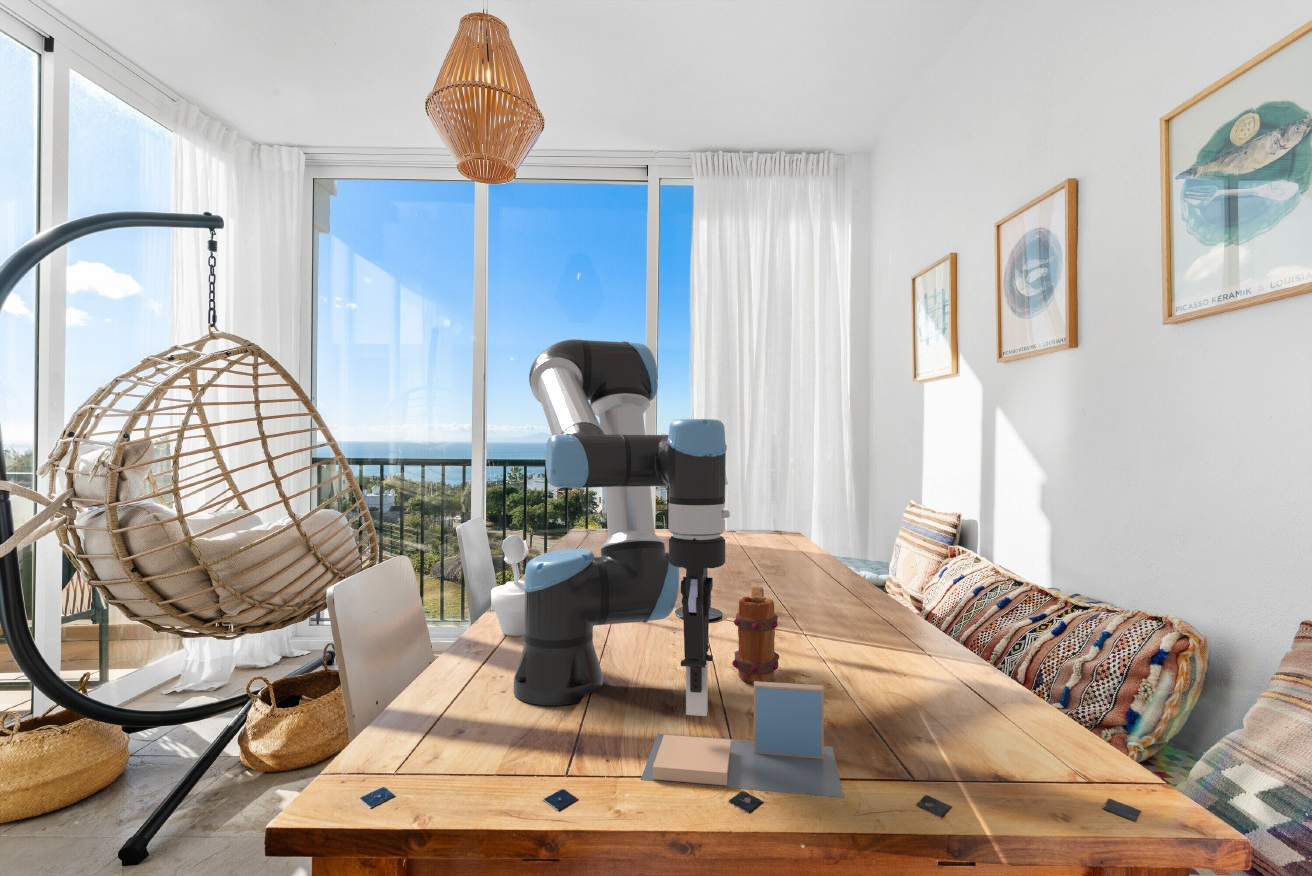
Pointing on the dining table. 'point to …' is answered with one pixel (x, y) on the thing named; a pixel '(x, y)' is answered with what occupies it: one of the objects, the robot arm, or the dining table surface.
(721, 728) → the dining table surface
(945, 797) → the dining table surface
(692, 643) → the robot arm
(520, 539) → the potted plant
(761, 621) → the mug
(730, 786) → the slate board
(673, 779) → the tile left
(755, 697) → the tile right
